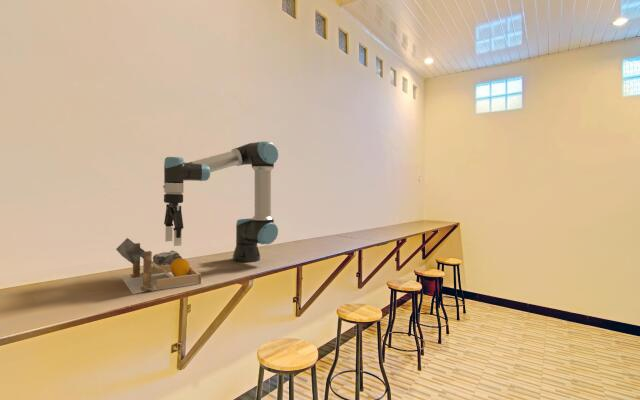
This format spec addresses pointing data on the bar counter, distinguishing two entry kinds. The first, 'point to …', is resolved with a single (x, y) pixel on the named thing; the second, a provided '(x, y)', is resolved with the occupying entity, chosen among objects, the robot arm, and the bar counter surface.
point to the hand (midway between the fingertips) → (173, 243)
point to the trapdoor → (134, 253)
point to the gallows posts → (144, 270)
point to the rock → (165, 258)
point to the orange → (180, 267)
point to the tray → (163, 280)
